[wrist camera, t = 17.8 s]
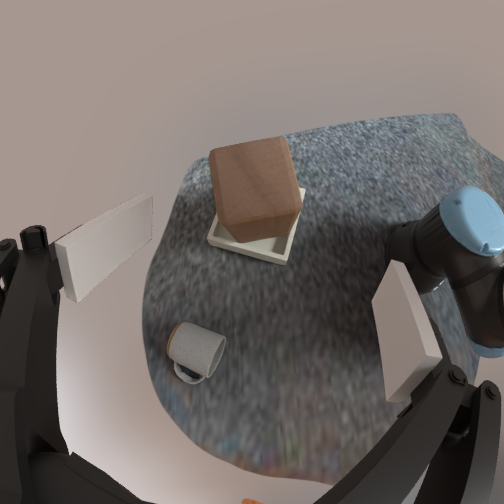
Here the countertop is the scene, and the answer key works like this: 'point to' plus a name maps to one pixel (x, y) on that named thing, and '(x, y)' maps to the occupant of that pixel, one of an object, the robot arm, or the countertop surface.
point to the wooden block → (255, 189)
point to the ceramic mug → (195, 350)
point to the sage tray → (254, 242)
